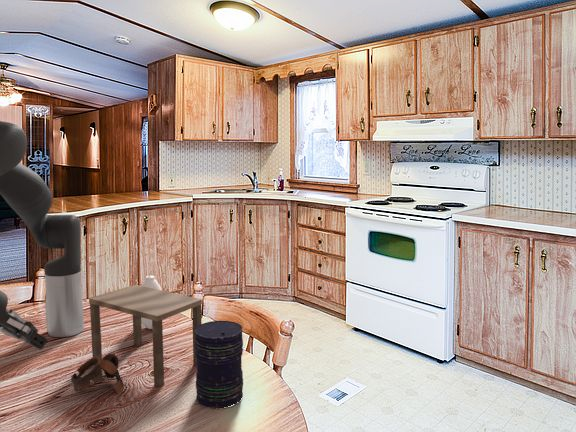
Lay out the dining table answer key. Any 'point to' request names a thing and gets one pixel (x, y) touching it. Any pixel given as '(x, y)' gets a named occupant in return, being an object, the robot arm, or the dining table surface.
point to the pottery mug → (98, 373)
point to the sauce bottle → (153, 284)
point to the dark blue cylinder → (219, 364)
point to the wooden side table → (146, 306)
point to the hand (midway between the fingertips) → (42, 344)
